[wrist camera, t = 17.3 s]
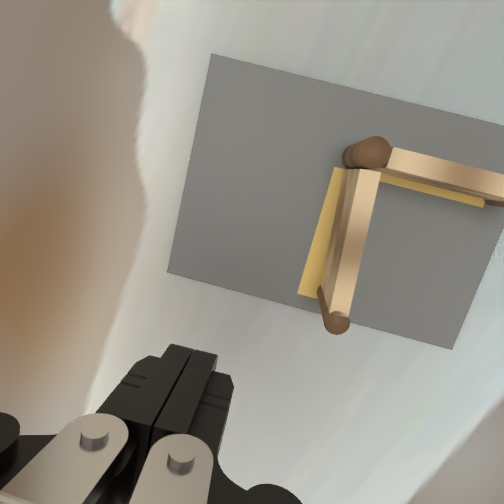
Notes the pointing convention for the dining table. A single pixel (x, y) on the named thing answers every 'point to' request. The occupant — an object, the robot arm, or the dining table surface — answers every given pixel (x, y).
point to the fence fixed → (425, 169)
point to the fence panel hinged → (346, 247)
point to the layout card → (332, 200)
